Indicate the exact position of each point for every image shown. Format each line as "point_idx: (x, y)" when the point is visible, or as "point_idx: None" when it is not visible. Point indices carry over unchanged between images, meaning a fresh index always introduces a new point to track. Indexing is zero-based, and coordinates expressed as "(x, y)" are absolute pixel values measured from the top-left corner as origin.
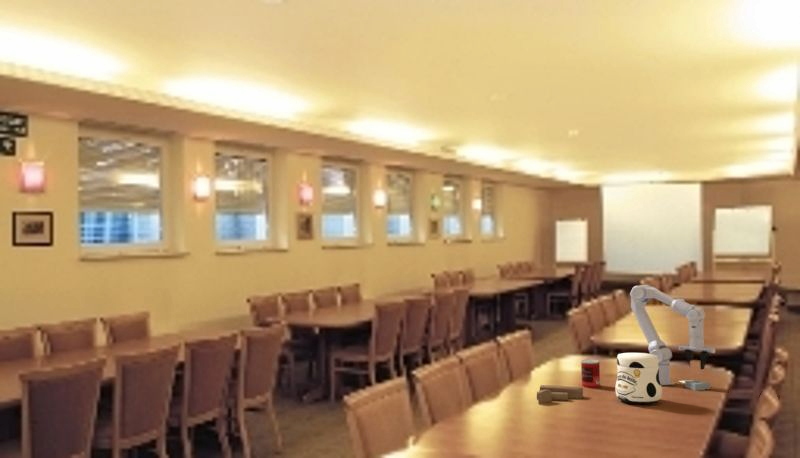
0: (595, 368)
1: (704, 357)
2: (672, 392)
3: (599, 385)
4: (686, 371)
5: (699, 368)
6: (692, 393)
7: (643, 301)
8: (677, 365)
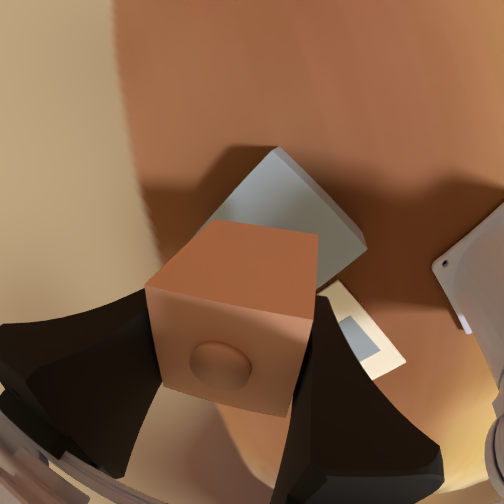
0: None
1: (43, 322)
2: (388, 15)
3: None
4: None
5: (192, 240)
6: (265, 42)
7: None
8: None
